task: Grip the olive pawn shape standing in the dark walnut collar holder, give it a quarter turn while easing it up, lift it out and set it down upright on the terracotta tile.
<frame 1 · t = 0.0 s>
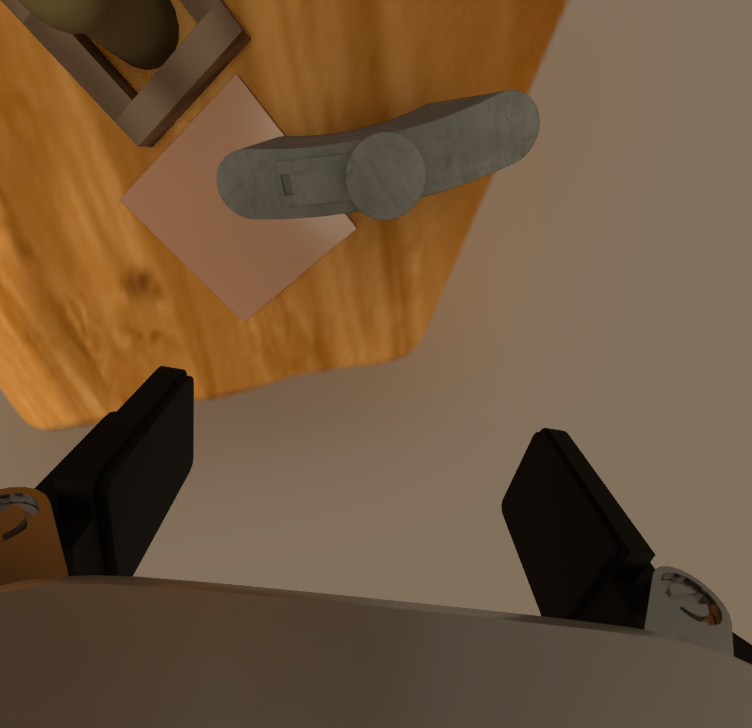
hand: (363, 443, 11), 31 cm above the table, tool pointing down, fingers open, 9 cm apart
olive pawn shape: (139, 22, 31), resting in collar holder
hip flask: (359, 147, 35), on the table, touching terracotta tile
terracotta tile: (242, 213, 38), on the table
collar holder: (137, 21, 31), on the table
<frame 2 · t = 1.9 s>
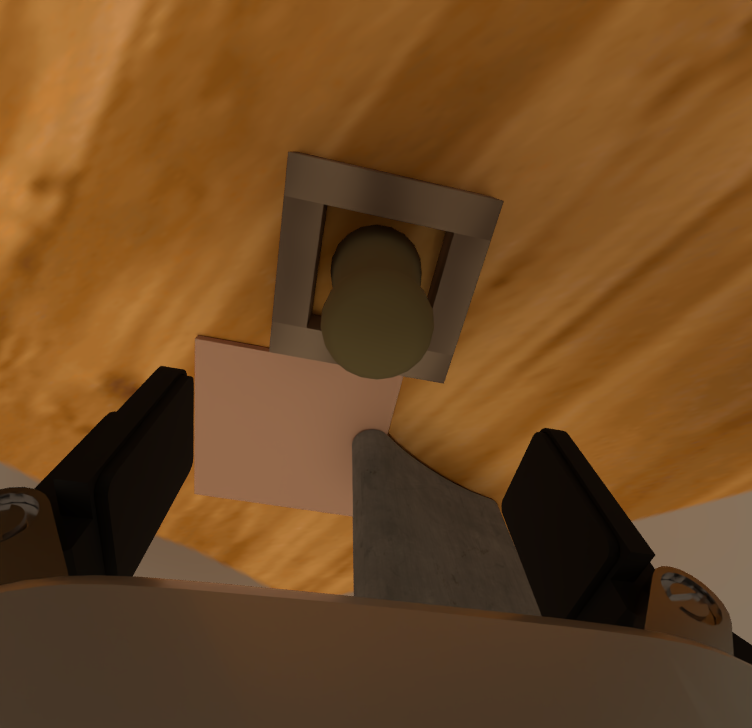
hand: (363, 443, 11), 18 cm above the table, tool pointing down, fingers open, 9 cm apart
olive pawn shape: (376, 271, 27), resting in collar holder
hip flask: (425, 481, 35), on the table, touching terracotta tile
terracotta tile: (291, 435, 33), on the table
collar holder: (376, 272, 27), on the table
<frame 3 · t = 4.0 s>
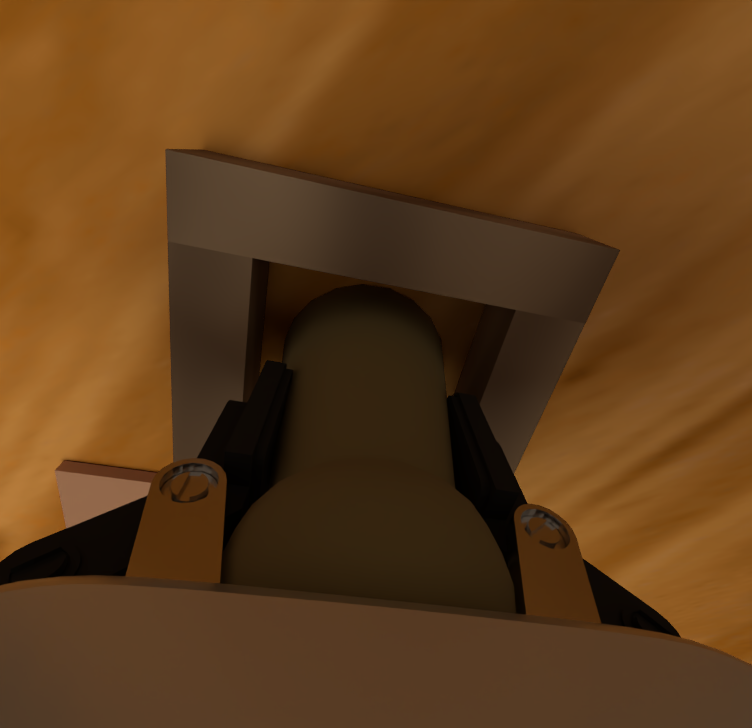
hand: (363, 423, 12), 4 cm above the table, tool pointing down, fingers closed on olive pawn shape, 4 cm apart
olive pawn shape: (363, 359, 16), resting in collar holder, touching gripper
terracotta tile: (236, 589, 21), on the table
collar holder: (363, 362, 15), on the table
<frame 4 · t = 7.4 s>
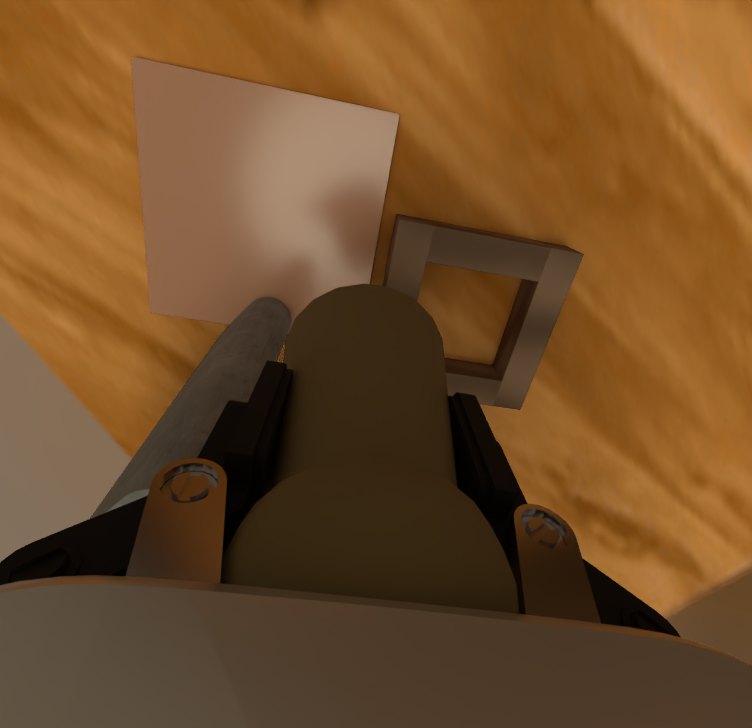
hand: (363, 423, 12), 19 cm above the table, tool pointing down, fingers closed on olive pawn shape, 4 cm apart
olive pawn shape: (364, 359, 16), point 14 cm above the table, touching gripper
hip flask: (223, 373, 32), on the table, touching terracotta tile
terracotta tile: (264, 221, 27), on the table
collar holder: (459, 313, 30), on the table
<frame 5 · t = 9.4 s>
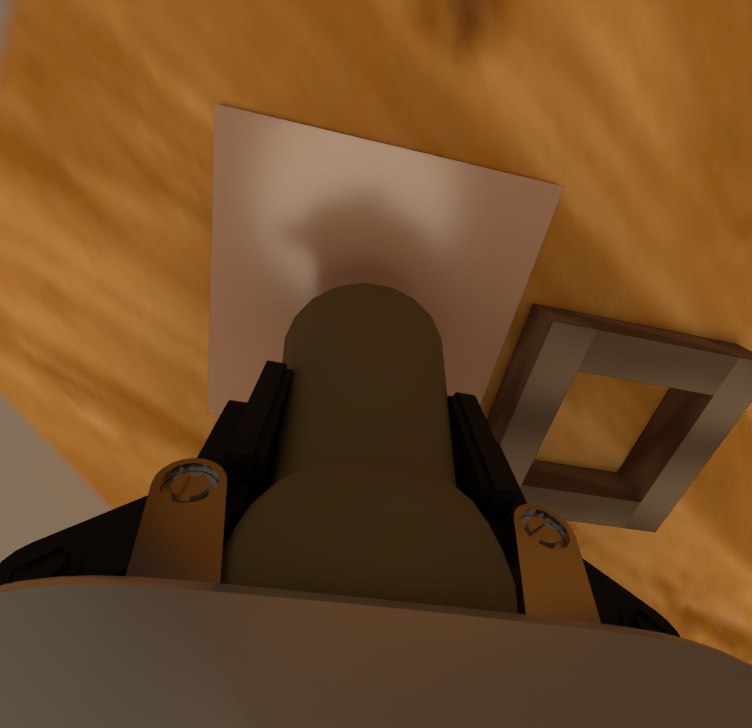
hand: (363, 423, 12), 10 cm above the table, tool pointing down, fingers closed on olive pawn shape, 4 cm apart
olive pawn shape: (363, 358, 16), point 6 cm above the table, touching gripper
terracotta tile: (364, 309, 21), on the table
collar holder: (589, 416, 24), on the table
when the fingers open (6 cm above the table, at t = 11.0 s): olive pawn shape drops 1 cm, resting on terracotta tile.
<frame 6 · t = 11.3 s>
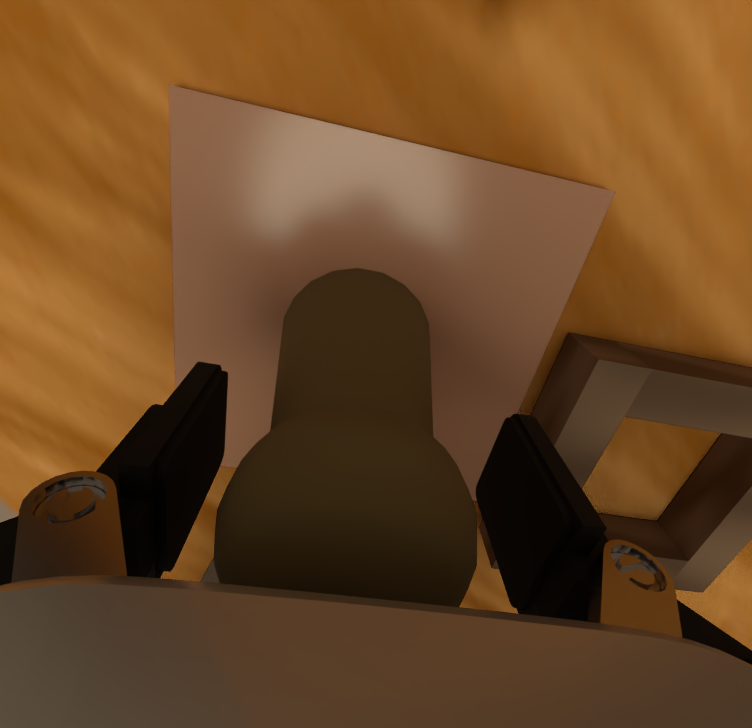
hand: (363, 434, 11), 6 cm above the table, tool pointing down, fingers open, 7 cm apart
olive pawn shape: (356, 339, 17), resting on terracotta tile
terracotta tile: (363, 339, 17), on the table
collar holder: (628, 460, 21), on the table
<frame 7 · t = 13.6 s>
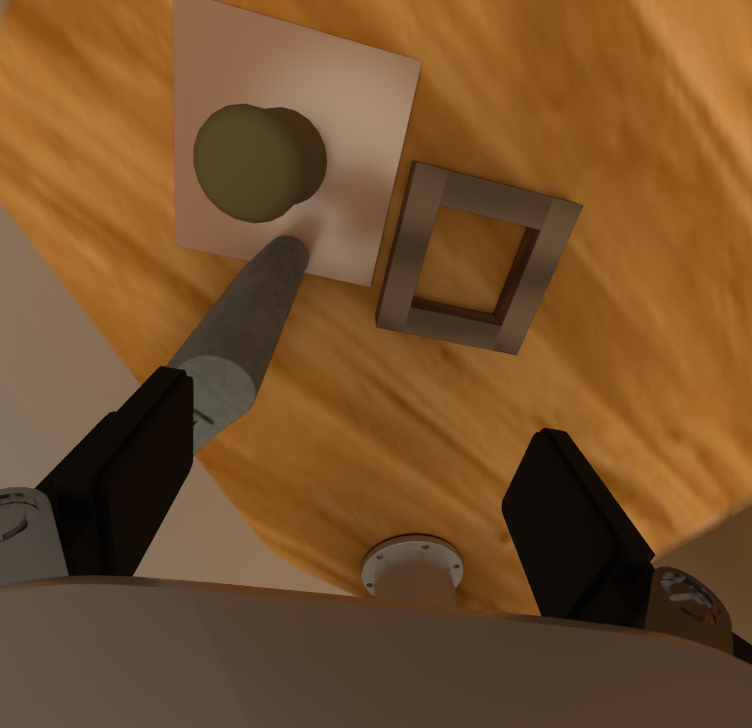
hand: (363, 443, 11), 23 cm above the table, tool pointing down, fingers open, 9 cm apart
olive pawn shape: (283, 158, 28), resting on terracotta tile
hip flask: (240, 310, 34), on the table, touching terracotta tile
terracotta tile: (288, 161, 29), on the table
collar holder: (465, 261, 32), on the table
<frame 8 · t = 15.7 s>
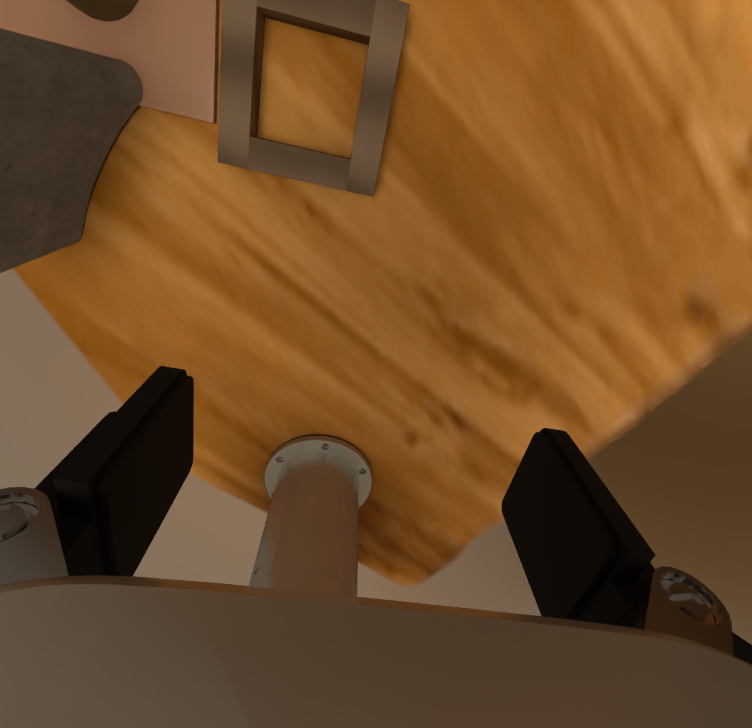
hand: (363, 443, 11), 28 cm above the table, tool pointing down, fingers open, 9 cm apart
hip flask: (85, 156, 32), on the table, touching terracotta tile
collar holder: (311, 93, 31), on the table
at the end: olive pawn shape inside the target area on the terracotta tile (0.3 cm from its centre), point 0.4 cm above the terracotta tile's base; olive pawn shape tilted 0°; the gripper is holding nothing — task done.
